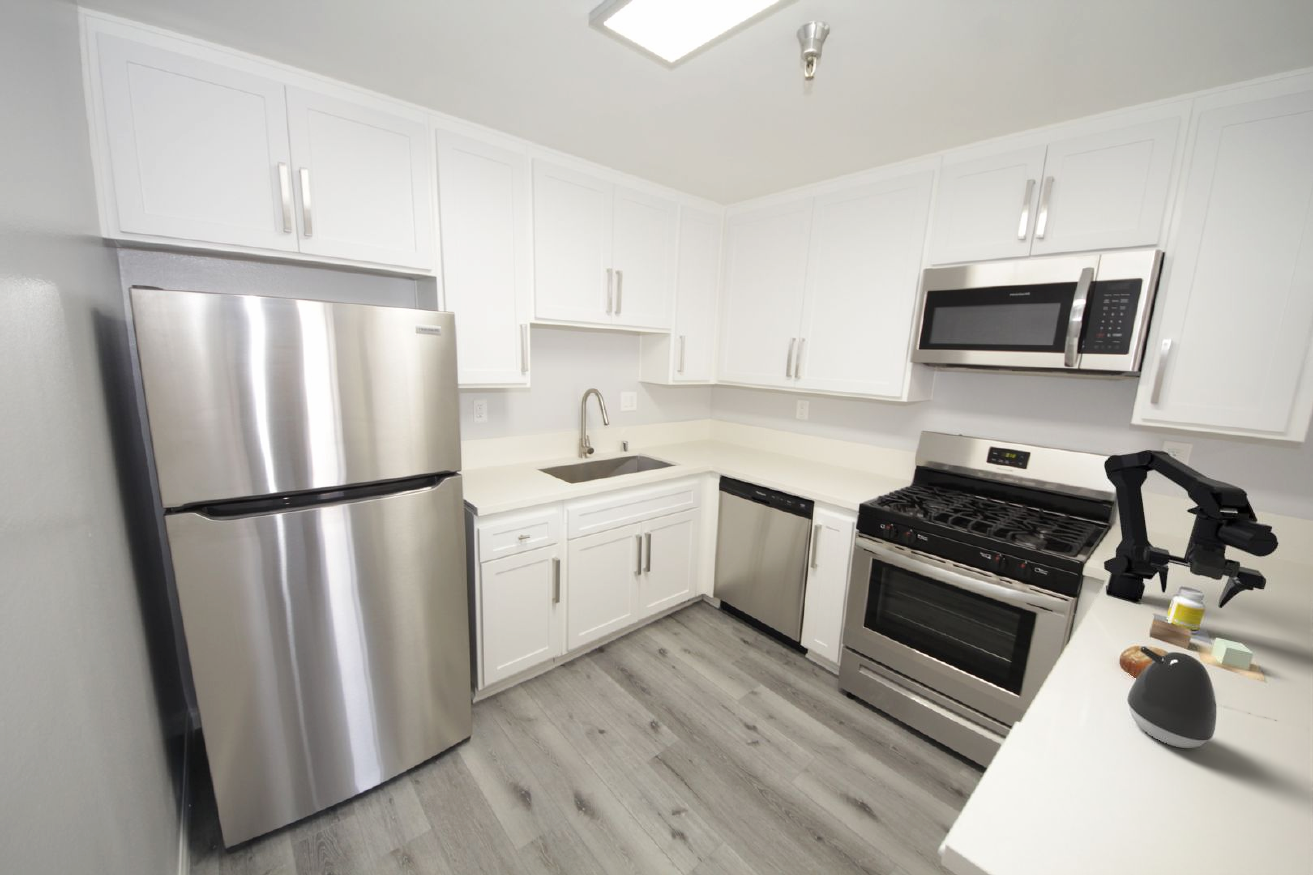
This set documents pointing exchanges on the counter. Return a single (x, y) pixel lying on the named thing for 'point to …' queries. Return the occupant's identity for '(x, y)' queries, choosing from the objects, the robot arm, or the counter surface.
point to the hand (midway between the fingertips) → (1190, 599)
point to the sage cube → (1232, 654)
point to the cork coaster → (1210, 659)
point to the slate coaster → (1200, 635)
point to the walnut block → (1170, 633)
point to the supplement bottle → (1186, 609)
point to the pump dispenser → (1174, 700)
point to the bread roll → (1137, 659)
